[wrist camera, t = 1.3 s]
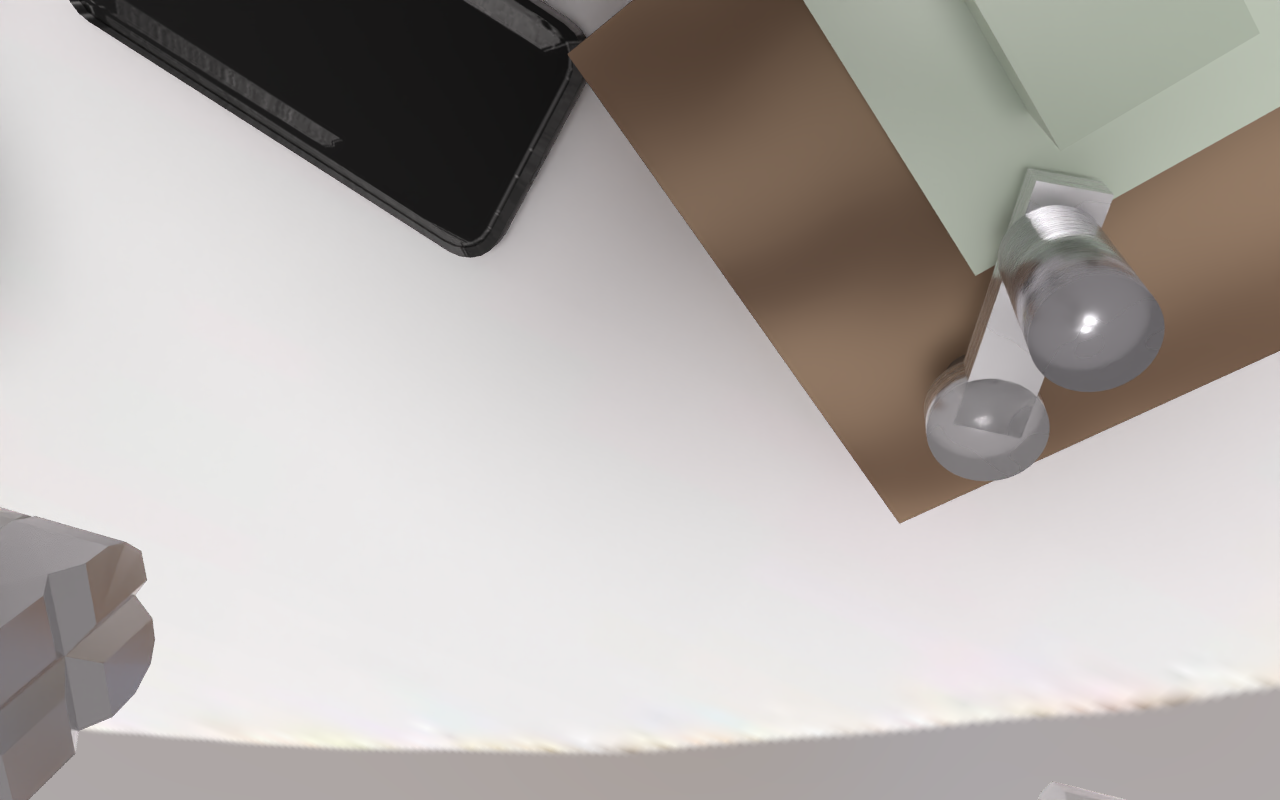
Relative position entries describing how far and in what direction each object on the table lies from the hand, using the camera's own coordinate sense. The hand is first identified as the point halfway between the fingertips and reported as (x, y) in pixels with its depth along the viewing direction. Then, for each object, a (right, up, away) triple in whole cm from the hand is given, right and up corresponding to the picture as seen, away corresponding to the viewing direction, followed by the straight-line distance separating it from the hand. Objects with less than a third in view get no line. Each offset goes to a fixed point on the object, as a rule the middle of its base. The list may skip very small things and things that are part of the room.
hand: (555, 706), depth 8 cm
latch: (+10, +4, +14) cm, 18 cm away
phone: (-8, +14, +20) cm, 26 cm away
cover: (+10, +12, +13) cm, 20 cm away
